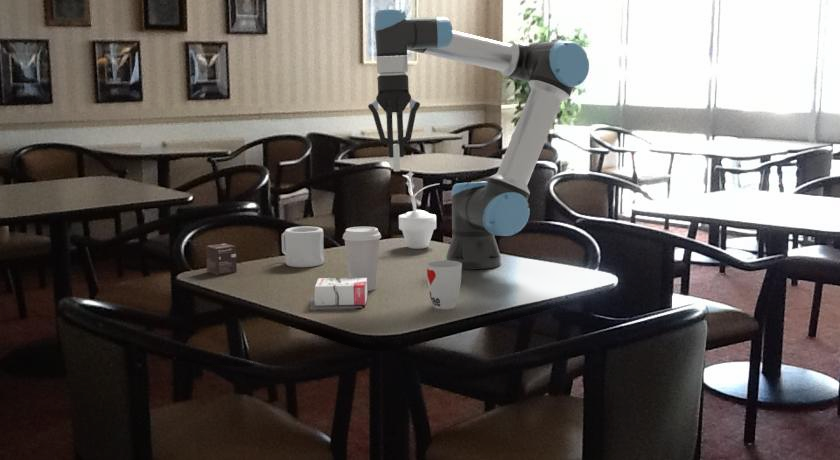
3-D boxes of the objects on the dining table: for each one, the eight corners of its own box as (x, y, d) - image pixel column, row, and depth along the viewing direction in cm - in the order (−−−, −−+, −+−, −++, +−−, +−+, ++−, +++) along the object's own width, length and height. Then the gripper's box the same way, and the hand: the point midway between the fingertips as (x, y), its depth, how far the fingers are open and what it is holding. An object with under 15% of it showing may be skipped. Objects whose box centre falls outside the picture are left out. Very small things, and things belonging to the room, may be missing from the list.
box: (217, 275, 258) (216, 248, 257) (206, 272, 263) (205, 245, 261) (237, 272, 262) (236, 245, 261) (226, 269, 267) (224, 243, 265)
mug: (331, 262, 274) (330, 227, 272) (307, 269, 265) (306, 233, 263) (294, 258, 281) (293, 224, 279) (270, 264, 272) (268, 229, 270)
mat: (361, 297, 231) (361, 296, 231) (362, 308, 220) (362, 307, 220) (311, 298, 230) (311, 297, 230) (309, 310, 219) (309, 309, 219)
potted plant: (395, 250, 290) (394, 167, 286) (402, 243, 302) (401, 163, 297) (437, 251, 288) (436, 167, 284) (442, 244, 299) (442, 163, 295)
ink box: (365, 285, 221) (313, 286, 221) (365, 306, 222) (314, 306, 222) (367, 276, 229) (317, 277, 229) (367, 296, 230) (317, 297, 230)
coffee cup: (353, 294, 234) (351, 233, 232) (338, 287, 242) (336, 228, 240) (388, 290, 238) (387, 230, 236) (372, 282, 247) (371, 224, 244)
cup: (425, 303, 225) (424, 260, 223) (459, 301, 225) (459, 259, 224) (428, 311, 217) (427, 268, 215) (464, 310, 217) (464, 266, 216)
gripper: (417, 73, 239) (421, 167, 244) (364, 75, 238) (369, 170, 242) (421, 73, 232) (424, 170, 236) (367, 75, 231) (371, 173, 235)
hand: (396, 170), depth 239 cm, fingers closed
